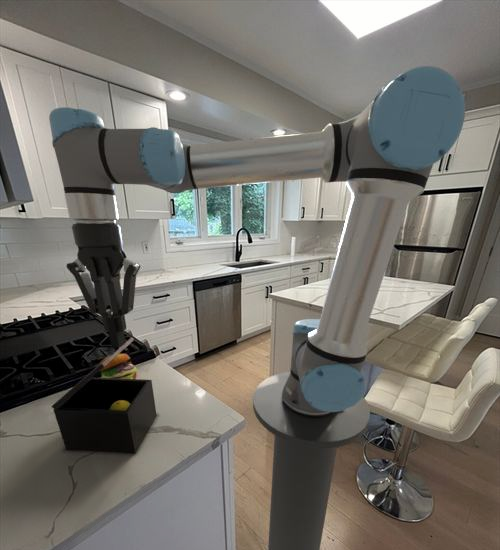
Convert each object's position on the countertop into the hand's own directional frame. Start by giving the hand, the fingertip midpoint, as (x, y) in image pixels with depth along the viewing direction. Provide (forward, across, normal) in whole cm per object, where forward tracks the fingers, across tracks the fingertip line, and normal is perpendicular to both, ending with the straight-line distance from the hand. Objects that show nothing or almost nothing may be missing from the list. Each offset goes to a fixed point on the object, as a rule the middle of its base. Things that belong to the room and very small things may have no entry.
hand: (118, 345), depth 57 cm
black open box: (+23, +5, 0) cm, 23 cm away
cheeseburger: (+23, +15, -22) cm, 35 cm away
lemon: (+22, +2, 0) cm, 22 cm away
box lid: (+7, +6, 0) cm, 9 cm away
